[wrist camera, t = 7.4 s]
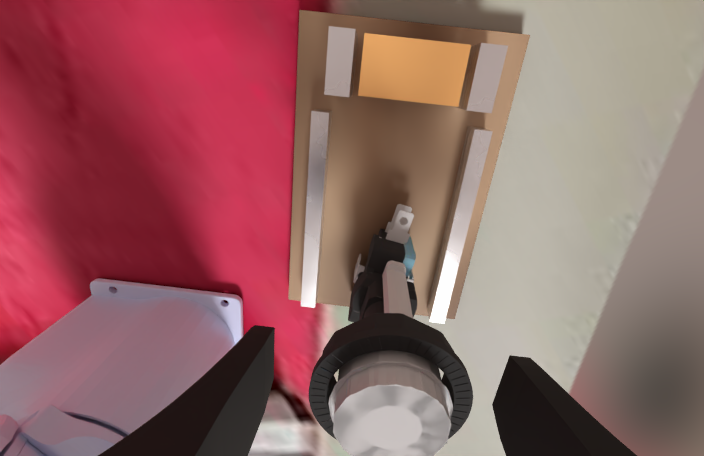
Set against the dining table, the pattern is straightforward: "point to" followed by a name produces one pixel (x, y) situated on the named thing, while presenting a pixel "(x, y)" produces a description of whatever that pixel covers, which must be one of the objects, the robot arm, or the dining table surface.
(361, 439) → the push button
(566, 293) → the dining table surface
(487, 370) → the dining table surface
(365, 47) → the peach rectangular block
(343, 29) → the white guide rails
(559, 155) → the dining table surface
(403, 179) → the mounting board
